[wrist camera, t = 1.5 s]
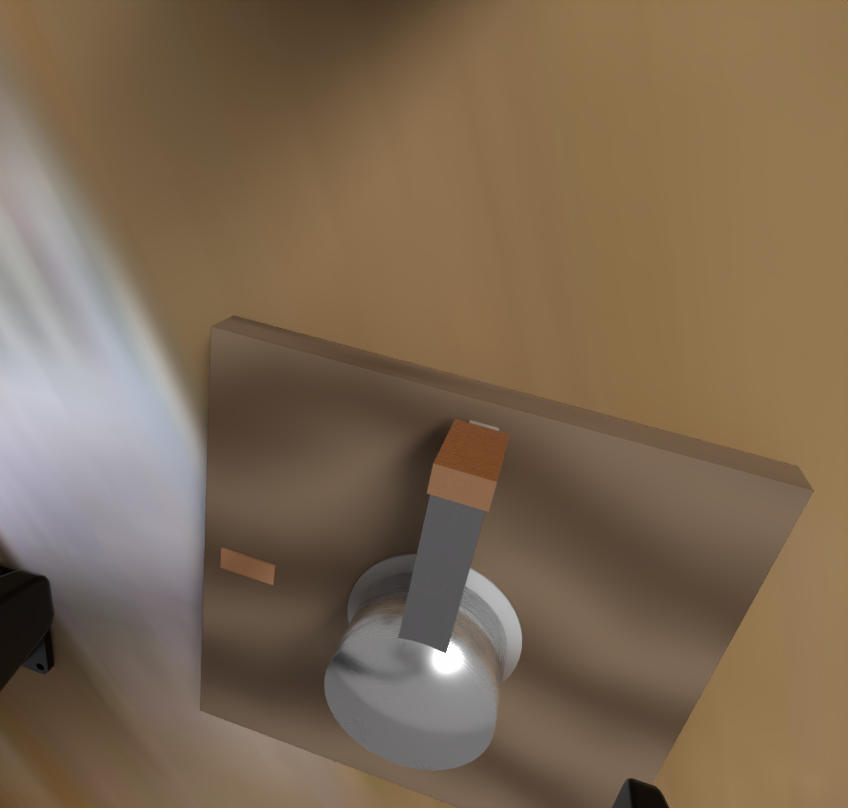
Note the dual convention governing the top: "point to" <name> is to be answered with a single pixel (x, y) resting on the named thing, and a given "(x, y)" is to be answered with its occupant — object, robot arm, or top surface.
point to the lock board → (474, 560)
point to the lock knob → (429, 629)
